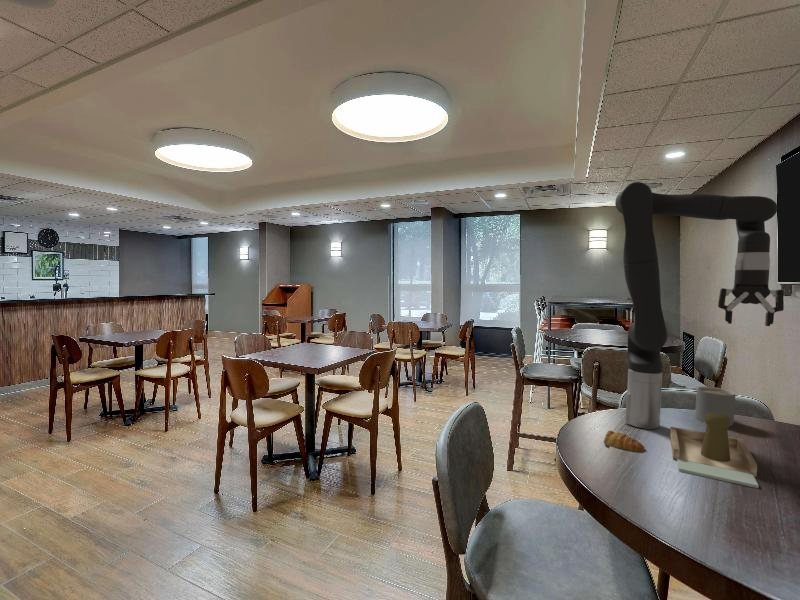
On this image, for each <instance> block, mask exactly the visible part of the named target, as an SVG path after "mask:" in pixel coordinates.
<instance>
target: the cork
mask: <svg viewBox="0 0 800 600" xmlns="http://www.w3.org/2000/svg"><path fill="white" fill-rule="evenodd" d="M730 423H731V421H730V418H729V417H728V416H726V415H724V414H721V413H715V412H710V413H707V414H706V415H705V423H704V424H706V428H705V436H704V441H703V445H702V449H701V455H702V456H704V457H706V458H709V459H712V460H715V461H721V462H728V461H730V450H729V441H728V437H729V433H728V431H729V430H728V429H729V428H730V427H731V426H730Z"/></svg>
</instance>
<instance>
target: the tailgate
mask: <svg viewBox="0 0 800 600" xmlns="http://www.w3.org/2000/svg"><path fill="white" fill-rule="evenodd" d="M676 462H677V463H676V464H677V470H678V472H681V473H686V474H691V475H696V476H700V477H704V478H709V479H712V480H713V479H714V480H719V481H724V482H727V483H733V484H737V485H742V486H747V487H751V488H755V489H759V484H758V481H757V479H756V477H755V476H753V474H749V473H744V472H739V471H734V470H729V469H724V468H720V467H715V466H710V465H705V464H700V463H695V462H690V461H685V460H680V459H677V460H676Z"/></svg>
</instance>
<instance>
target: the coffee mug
mask: <svg viewBox="0 0 800 600" xmlns="http://www.w3.org/2000/svg"><path fill="white" fill-rule="evenodd" d="M695 399H696V400H695V411H694V412H695V413H694V414H695V415H694V418H695V419H696V420H697V419H698V420H697V421H699V420H700V421H699V422H701V421H702V423H704V422H705V415H706V414H707V413H710V412H715V413H721V414H724V415H726V416H728V417H729V418H730V421H731V423H730V427H732V426H734V421H735V407H736V406H735V404H736V393H735V391H732V390H730V389H726V388H720V387H713V386H697V387H696V396H695Z"/></svg>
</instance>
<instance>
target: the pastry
mask: <svg viewBox="0 0 800 600" xmlns="http://www.w3.org/2000/svg"><path fill="white" fill-rule="evenodd" d="M603 439H604V440H603V444H604V445H605V446H606V447H608V448H611V447H613V448H617V449H621V450H626V451H631V452H640V453H642V452H644V451H645V446H644V445H643V444H642V443H641V442H640V441H638V440H636V439H635V438H633V437H631V436H628V435H627V434H626V433H621V432H619V431H616V432H614V431H612V430H608V431H607V432H606V434H605V436H604V438H603Z"/></svg>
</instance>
